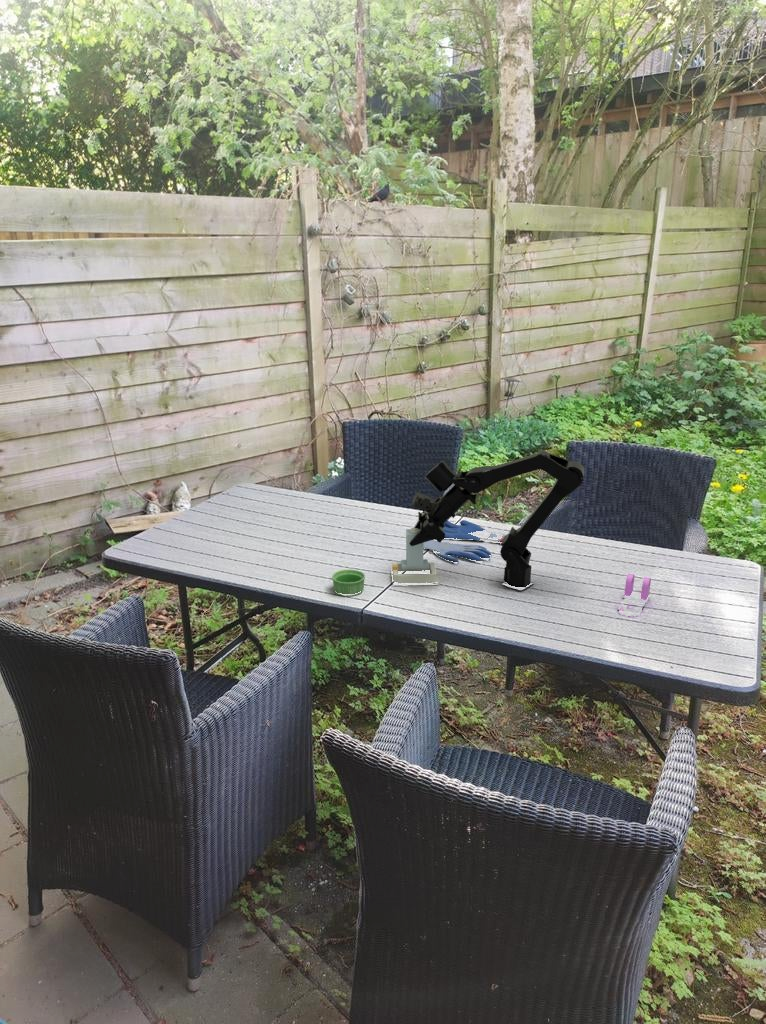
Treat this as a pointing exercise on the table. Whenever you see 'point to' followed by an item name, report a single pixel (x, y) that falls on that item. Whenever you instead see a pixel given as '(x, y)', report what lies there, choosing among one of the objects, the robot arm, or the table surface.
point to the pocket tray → (414, 577)
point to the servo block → (413, 552)
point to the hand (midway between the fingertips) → (409, 541)
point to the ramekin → (348, 581)
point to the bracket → (630, 584)
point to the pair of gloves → (457, 549)
